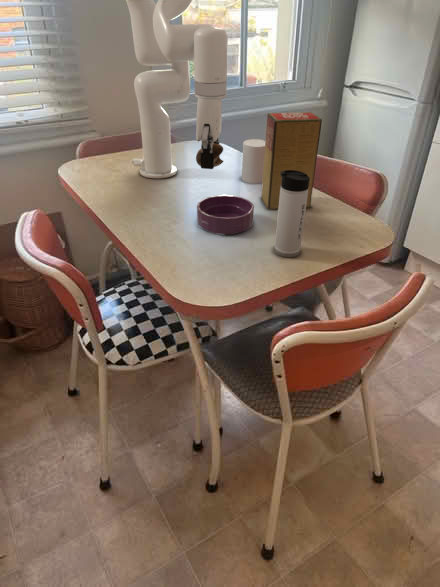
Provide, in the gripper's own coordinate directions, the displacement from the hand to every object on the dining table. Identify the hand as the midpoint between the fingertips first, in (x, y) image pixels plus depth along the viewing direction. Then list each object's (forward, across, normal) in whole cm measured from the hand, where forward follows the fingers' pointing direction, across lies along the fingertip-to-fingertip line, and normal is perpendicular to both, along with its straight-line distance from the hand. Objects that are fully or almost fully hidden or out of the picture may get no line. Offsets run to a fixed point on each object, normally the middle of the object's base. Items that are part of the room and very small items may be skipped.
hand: (210, 162), depth 114 cm
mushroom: (+1, +1, 0) cm, 1 cm away
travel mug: (+16, +14, +22) cm, 31 cm away
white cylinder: (+16, -34, +9) cm, 38 cm away
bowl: (+16, +1, +4) cm, 17 cm away
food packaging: (+16, -16, +20) cm, 30 cm away
